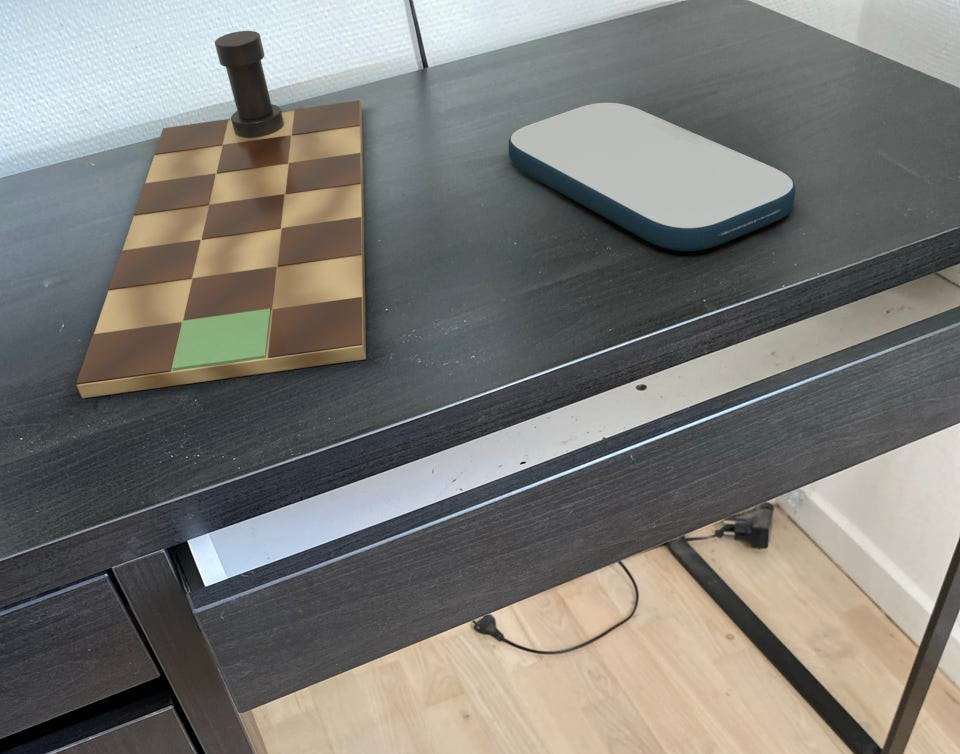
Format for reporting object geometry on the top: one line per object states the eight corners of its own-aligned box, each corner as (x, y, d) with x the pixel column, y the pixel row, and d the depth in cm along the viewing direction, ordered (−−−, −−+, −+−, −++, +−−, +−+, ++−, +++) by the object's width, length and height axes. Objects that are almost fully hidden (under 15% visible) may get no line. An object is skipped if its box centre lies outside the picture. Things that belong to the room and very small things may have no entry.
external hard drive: (494, 162, 82) (491, 136, 80) (611, 120, 85) (610, 95, 84) (680, 268, 67) (682, 239, 66) (813, 213, 71) (817, 184, 69)
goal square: (173, 370, 63) (172, 368, 63) (183, 323, 67) (182, 320, 67) (265, 358, 63) (264, 355, 63) (270, 311, 67) (270, 308, 67)
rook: (232, 140, 88) (208, 50, 83) (236, 121, 91) (213, 33, 86) (282, 133, 88) (261, 43, 83) (285, 114, 91) (264, 26, 86)
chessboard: (82, 399, 64) (75, 383, 63) (166, 140, 93) (162, 128, 92) (366, 359, 64) (363, 343, 63) (362, 112, 92) (360, 99, 92)
